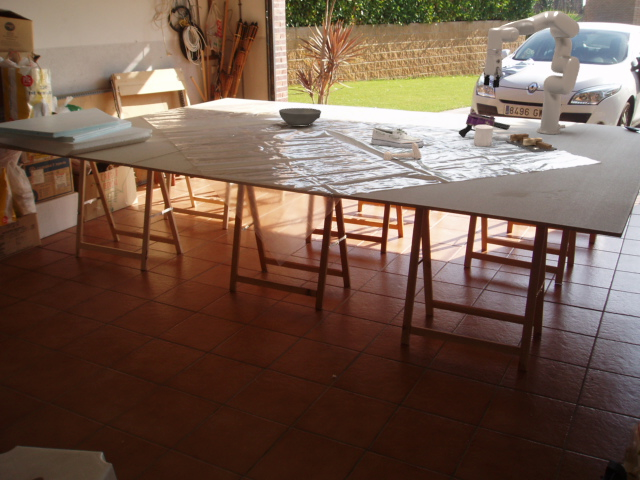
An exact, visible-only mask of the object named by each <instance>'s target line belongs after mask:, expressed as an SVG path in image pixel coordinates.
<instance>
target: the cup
mask: <svg viewBox="0 0 640 480" xmlns="http://www.w3.org/2000/svg"><path fill="white" fill-rule="evenodd" d="M474 127H475V129H474V130H475V131H474V137H473V144H474V146H476V147H483V146H484V147H490V146H491V145H492V143H493V130H494V126H489V125H476V126H474Z"/></svg>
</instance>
